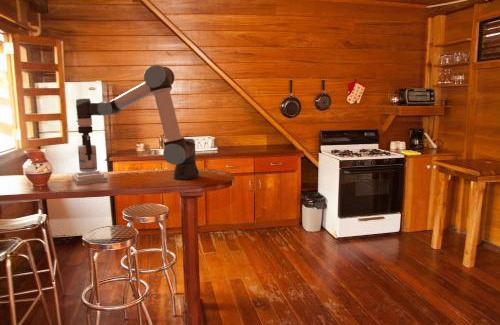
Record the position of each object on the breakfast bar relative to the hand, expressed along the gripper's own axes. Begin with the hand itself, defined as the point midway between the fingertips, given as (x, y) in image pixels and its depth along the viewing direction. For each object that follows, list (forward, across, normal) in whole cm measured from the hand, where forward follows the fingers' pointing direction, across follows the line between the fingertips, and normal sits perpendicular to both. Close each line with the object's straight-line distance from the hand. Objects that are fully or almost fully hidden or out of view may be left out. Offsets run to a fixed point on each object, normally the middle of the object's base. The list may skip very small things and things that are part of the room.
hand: (88, 164), depth 226 cm
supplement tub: (+4, 0, 0) cm, 4 cm away
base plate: (+9, 0, 0) cm, 9 cm away
